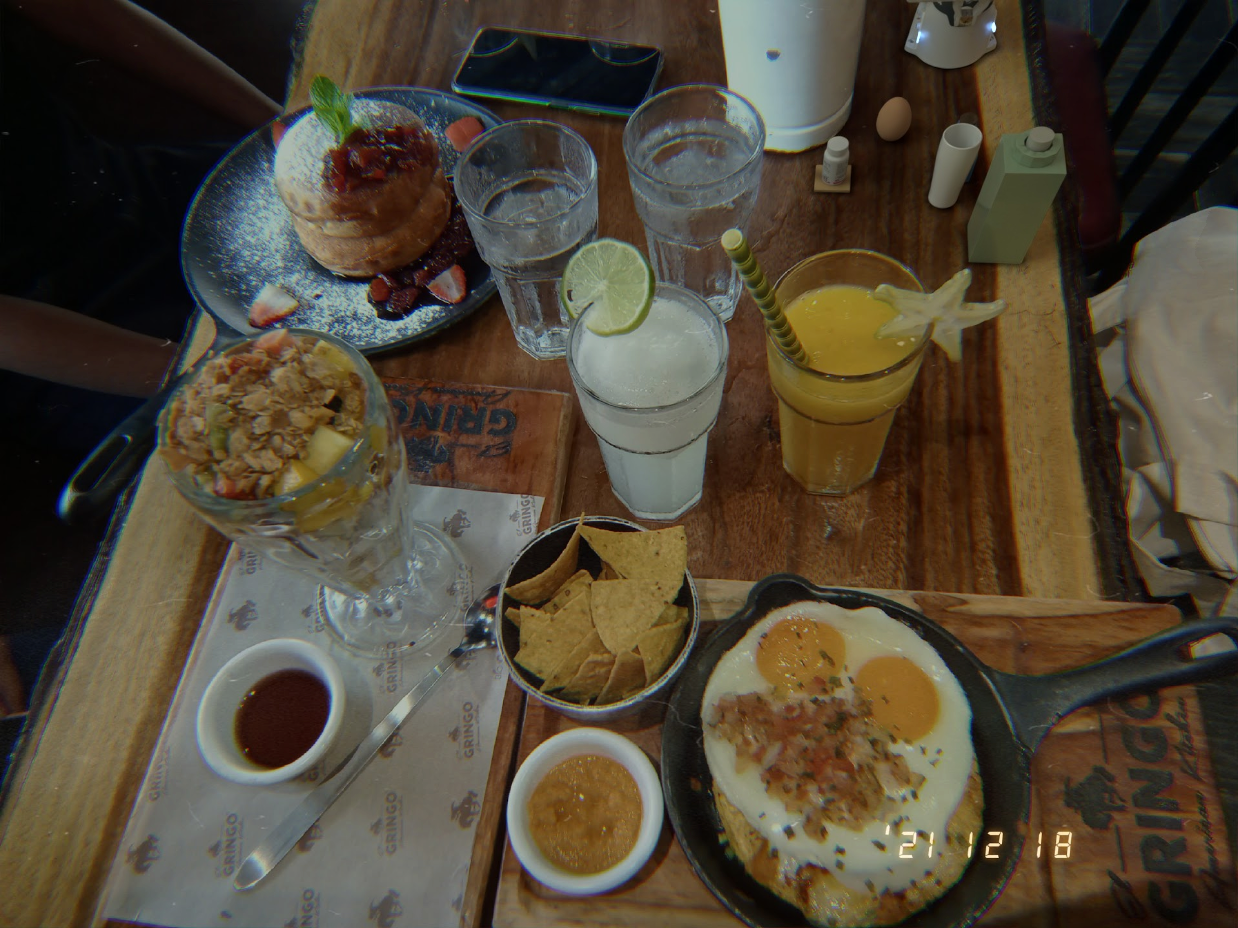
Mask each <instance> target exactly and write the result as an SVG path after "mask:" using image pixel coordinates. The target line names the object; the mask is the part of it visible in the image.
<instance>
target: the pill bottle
mask: <svg viewBox="0 0 1238 928" xmlns="http://www.w3.org/2000/svg"><path fill="white" fill-rule="evenodd" d="M849 145H850V141H849V140H848V139H847V137H844V136H841V135H840V136H839V135H838V136H833V137H831V138H830V139H828V141H827V145H826V149H825V150H824V153H823V159H822V160H823V162H822V165H823V169H822V180H823V182H824V183H826V184H828V185H838V184H840V183H842V182H843V181H844V180H845V177H846V172H847V166H848V165H849V158H850V150H849Z"/></svg>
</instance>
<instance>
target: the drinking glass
mask: <svg viewBox="0 0 1238 928" xmlns="http://www.w3.org/2000/svg"><path fill="white" fill-rule="evenodd" d="M957 123H958V122H957ZM957 123H955V124H951V125H949V126H948V127H946V129H945V130H944V131H943V133H942V136H941V139H940V142H939V145H938V148H937V152H936V157H935V161H934V162H935V163H934V168H933V172H932V177H931V183H930V187H929V192H928V195H927V198H928V202H929V204H931V206H933V207H935V208H938V209H947V208H951V207H953V206H954V205H955V204H956V202H957V200H958V197H959V196H960V193H961V191H962V189H963V187H964V184H965V183H966V182H965V180H966V178H967V176H968V174H969V172H970V170H971V168H972V165H973V163H974V161H975V159H976V156H977V154H978V155H979V152H980V148H981V144H982V141H983V133H982V131H981V129H980V128H978V127H977V126H976V127H975V126H973V125H971V124H966V123H958V124H957Z"/></svg>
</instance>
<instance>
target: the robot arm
mask: <svg viewBox="0 0 1238 928" xmlns="http://www.w3.org/2000/svg"><path fill="white" fill-rule="evenodd" d="M905 1H906V2H907V3H908V4H913V3H915V4H916V3H917V4H918V6H917V8H916V10H915V11H916V12H915V14H914V17H913V20H912V22H911V26H910V29H909V33H908V34H907V38H906V41H905V45H904V51H906V52H908V53H910V54H912V55H914V56H916V57H918V59H920V60H921V61H922V62H924V63H925V64H927V65H930V66H932V67H934V68H935V67H936V68H940V69H958V68H963V67H967V66H969V65H972V64H974V63H975V62H977V61H978V60H979V59H981V57H983V56H984V55H985V54H986V53H990V52H992V51H993V50H995V49H996V47H997V40H996V39H997V38H996V37H995V34H994V33H995V32H996V29H997V26H996V24H995V23H996V20H997V16H998V9H996V8H997V7H996V6H995V4H994V1H995V0H905Z"/></svg>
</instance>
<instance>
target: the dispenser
mask: <svg viewBox="0 0 1238 928" xmlns="http://www.w3.org/2000/svg"><path fill="white" fill-rule="evenodd" d="M1032 129H1033V128H1029V129H1027V130H1024V131H1022V132H1020V133H1002V134H1001V137H1000V139H999V142H998V144H997V147H996V149H995V153H994V155H993V158H992V160H991V163H990V166H989V167H988V171H987V174H986V176H985V179H984V181H983V184H982V187H981V189H980V192H979V194H978V197H977V199H976V201H975V204H974V207H973V210H972V213H971V215H970V218H969V220H968V223H967V225H966V226H967V253H968V254H967V257H968V263H980V264H981V263H984V264H985V263H986V264H1013V265H1014V264H1015V265H1016V264H1017V265H1022V263H1023V261H1024V259H1025V257H1026V255H1027V253H1028V251H1029V249H1030V247H1031V245H1032V243H1033V241H1034V239H1035V237H1036V235H1037V233H1038V232H1039V229H1040V228H1041V225H1042V223H1043V221H1044V219H1045V218H1046V216H1047V213H1048V212H1049V209H1050V207H1051V206H1052V204H1053V202H1054V200H1055V198H1056V196H1057V194H1058V192H1059V190H1060V187H1061V185H1062V184H1063V182H1064V180H1065V178H1066V176H1067V174H1068V173H1067V164H1066V154H1065V147H1064V136H1063V133H1055V132H1054V134H1055V137H1054V139H1053V141H1052V143H1051V145H1050V148H1049V149H1048V150H1047V151H1045V152H1034V151H1031V150H1029V149H1028V148H1027V147H1026V145H1025V143H1026V141H1027V138H1028V136H1029V134H1030V131H1031V130H1032Z"/></svg>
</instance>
